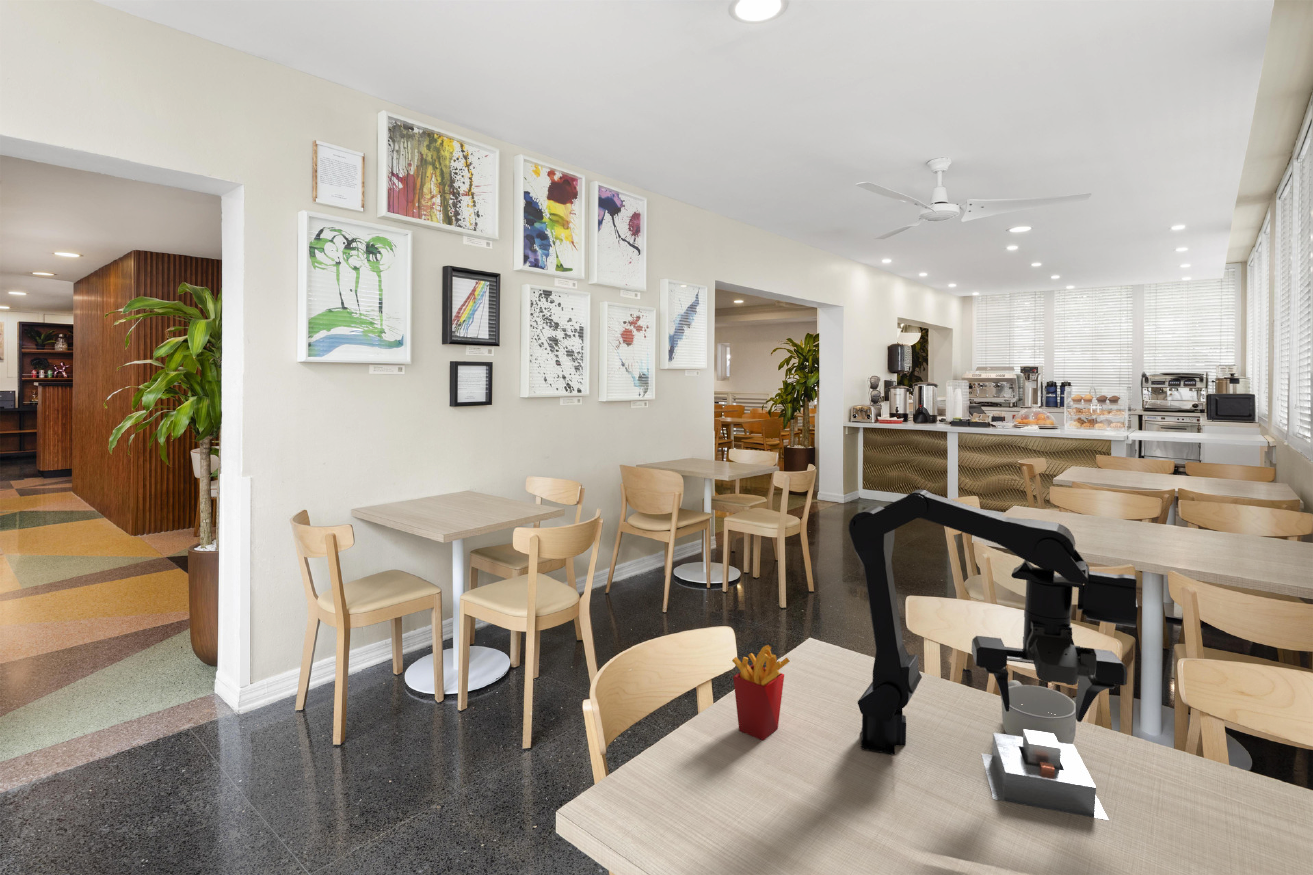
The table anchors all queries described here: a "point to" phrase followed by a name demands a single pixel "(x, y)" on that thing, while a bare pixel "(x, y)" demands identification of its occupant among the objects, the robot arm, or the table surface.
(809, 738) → the table surface
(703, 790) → the table surface
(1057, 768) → the column
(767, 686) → the french fries
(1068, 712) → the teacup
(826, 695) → the table surface
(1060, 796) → the housing
